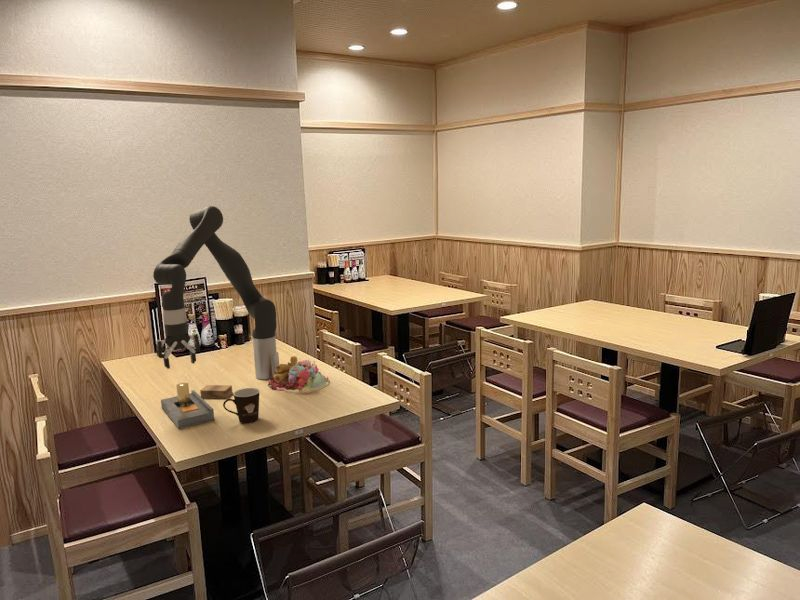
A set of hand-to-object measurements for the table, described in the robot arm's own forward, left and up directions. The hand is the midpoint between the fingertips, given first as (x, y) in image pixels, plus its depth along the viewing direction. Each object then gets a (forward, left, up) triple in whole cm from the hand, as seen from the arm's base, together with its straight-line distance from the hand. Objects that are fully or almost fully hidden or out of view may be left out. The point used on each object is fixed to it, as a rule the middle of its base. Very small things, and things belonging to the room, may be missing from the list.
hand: (180, 365), depth 213 cm
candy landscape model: (-33, -32, -18) cm, 49 cm away
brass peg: (0, 0, -17) cm, 17 cm away
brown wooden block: (-5, -16, -17) cm, 24 cm away
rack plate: (-2, +2, -17) cm, 17 cm away
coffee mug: (-25, +7, -17) cm, 31 cm away
